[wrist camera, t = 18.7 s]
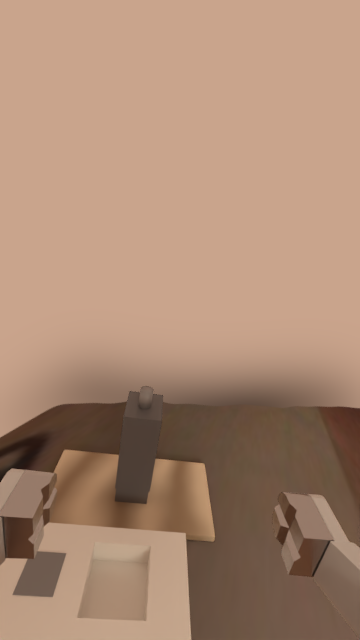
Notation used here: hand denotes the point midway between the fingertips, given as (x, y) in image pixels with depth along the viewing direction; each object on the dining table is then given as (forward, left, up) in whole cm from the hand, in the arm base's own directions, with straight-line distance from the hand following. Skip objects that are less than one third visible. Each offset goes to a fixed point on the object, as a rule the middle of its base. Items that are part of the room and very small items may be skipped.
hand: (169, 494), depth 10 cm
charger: (+1, -19, -23) cm, 29 cm away
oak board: (+1, -19, -23) cm, 30 cm away
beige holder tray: (+3, -8, -23) cm, 25 cm away
